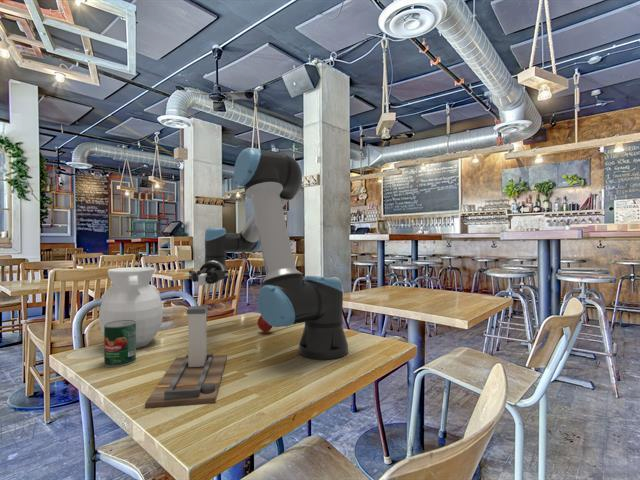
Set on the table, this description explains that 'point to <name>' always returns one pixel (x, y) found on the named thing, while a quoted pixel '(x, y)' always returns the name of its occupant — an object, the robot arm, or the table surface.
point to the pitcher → (133, 302)
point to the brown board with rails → (189, 383)
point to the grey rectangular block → (197, 336)
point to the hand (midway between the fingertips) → (201, 280)
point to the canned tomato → (119, 343)
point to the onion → (263, 325)
